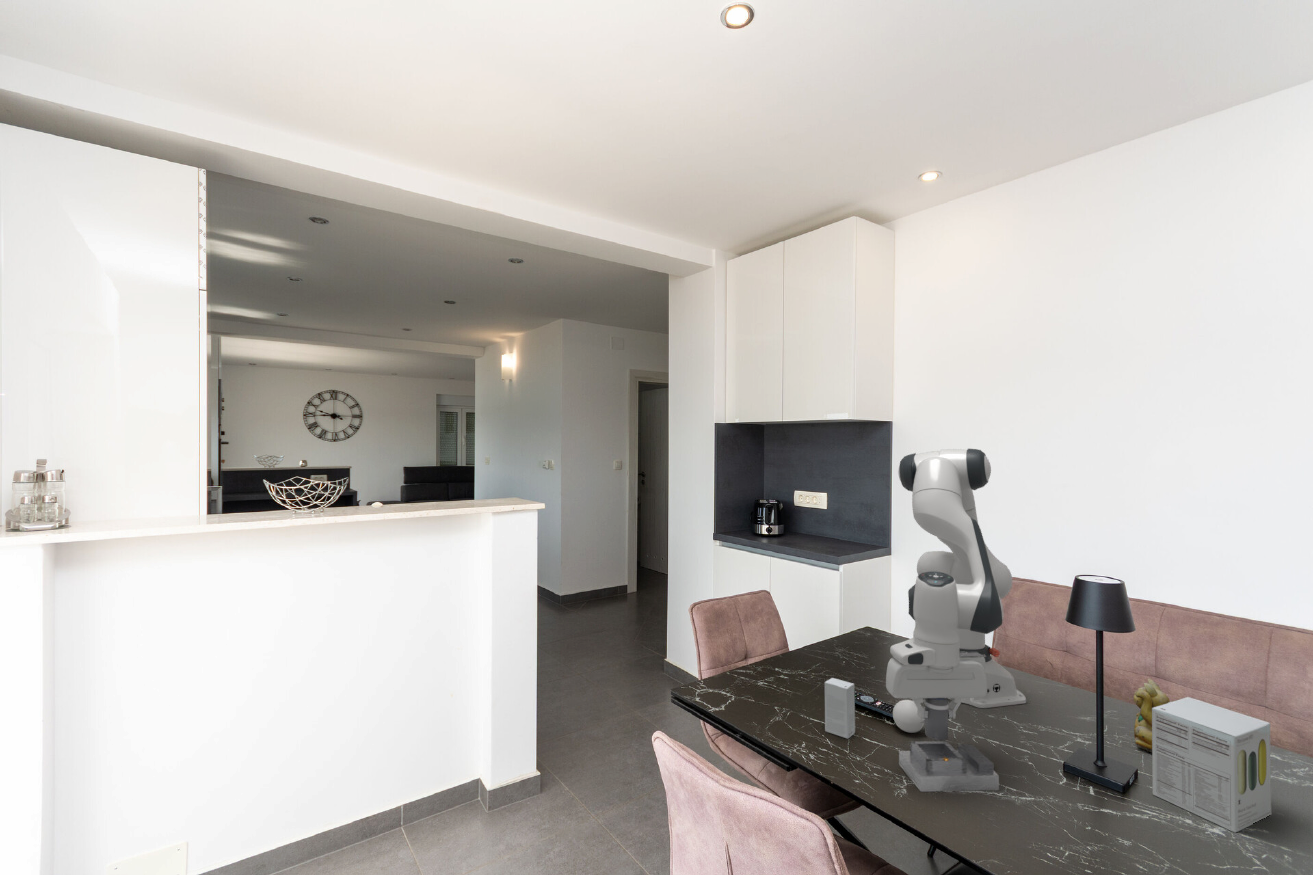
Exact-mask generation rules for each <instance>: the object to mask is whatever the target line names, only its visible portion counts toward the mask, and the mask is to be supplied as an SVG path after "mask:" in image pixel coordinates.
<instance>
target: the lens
mask: <svg viewBox="0 0 1313 875" xmlns="http://www.w3.org/2000/svg"><path fill="white" fill-rule="evenodd" d="M923 703H924V708H925V709H926V710H928V719H925V723H924V734H925V736H926V737H928V738H929V739H932V740H934V741H935V740H936V741H946V740H948V739H949V719H948V708H949V704H950V702H949V699H948V698H923Z"/></svg>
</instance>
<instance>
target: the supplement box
mask: <svg viewBox="0 0 1313 875" xmlns="http://www.w3.org/2000/svg"><path fill="white" fill-rule="evenodd" d="M1151 753H1152V757H1151V758H1152V760H1151V761H1152V766H1151V767H1152V795H1154V796H1155V797H1158V798H1159V799H1162V800H1164V801H1166V802H1168V803H1171V804H1173V805H1175V806H1176V807H1179V808H1181V809H1183V810H1185V811H1188V812H1189V813H1191V814H1194V815H1196V816H1198V817H1200V818H1202V819H1205V820H1207V821H1208V822H1211V823H1213V824H1215V825H1217V826H1219V827H1221V828H1224V829H1226V830H1229V831H1230V832H1232V833H1234V834H1235V833H1238V832H1240V831H1242V830H1244V829H1246V828H1247V827H1251V826H1252V825H1254V824H1253V823H1255V822H1257V821H1259V820H1261V819H1262V818H1265V819H1266V817H1267V816H1269V815H1271V816H1272V781H1271V780H1272V779H1271V774H1272V773H1271V768H1272V766H1271V723H1270V722H1268V721H1265V720H1262V719H1259V718H1256V717H1253V716H1250V715H1246V714H1243V713H1240V712H1237V711H1234V710H1231V709H1227V708H1225V707H1221V706H1218V705H1215V704H1212V703H1208V702H1206V701H1202V700H1200V699H1195V698H1193V697H1190V696H1186V697H1183V698H1181V699H1178V700H1174V701H1170V702H1169V703H1167V704H1164V705H1160V706H1157V707H1154V708H1152V752H1151ZM1269 817H1270V816H1269ZM1267 818H1268V817H1267ZM1261 821H1262V820H1261ZM1259 822H1260V821H1259ZM1257 823H1258V822H1257ZM1255 824H1256V823H1255Z"/></svg>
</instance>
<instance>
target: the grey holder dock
mask: <svg viewBox="0 0 1313 875" xmlns="http://www.w3.org/2000/svg"><path fill="white" fill-rule="evenodd" d="M909 748H910V749H909V750H898V765H899V767H900V768H901V769H902V770H903V771H904V773H905V774H906V775H907V776H908V778H909V779H910V780H911V782H912V783H913V784H914V785H915V787H916V788H917V789H918V790H919V791H920V792H923V793H925V792H969V791H970V792H971V791H972V792H973V791H975V792H976V791H978V792H979V791H980V792H981V791H999V790H1000V775H999V774H998V773H997V772H996V771H995V770H994V763H993V762H992V761H991V760H990V759H989V758H988V757H987V756H986V755H984V754H983V753H982V752H981V751H980V750H979V749H978V748H977V747H976V746H974V745H973V744H972V743H960V744H959V743H958V744H957V749H955V748H954V747H953V746H952V745H951V744H950V743H949V742H948V741H946V740H936V741H935V740H932V741H931V740H930V741H929V740H928V741H909Z"/></svg>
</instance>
